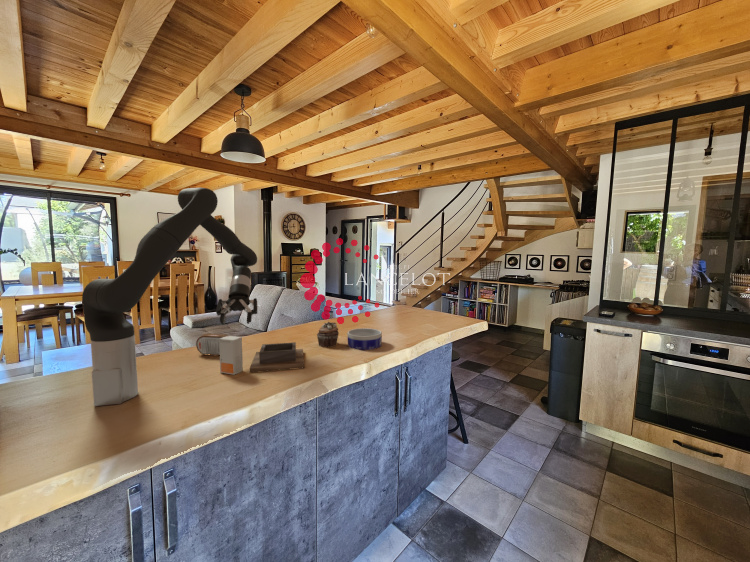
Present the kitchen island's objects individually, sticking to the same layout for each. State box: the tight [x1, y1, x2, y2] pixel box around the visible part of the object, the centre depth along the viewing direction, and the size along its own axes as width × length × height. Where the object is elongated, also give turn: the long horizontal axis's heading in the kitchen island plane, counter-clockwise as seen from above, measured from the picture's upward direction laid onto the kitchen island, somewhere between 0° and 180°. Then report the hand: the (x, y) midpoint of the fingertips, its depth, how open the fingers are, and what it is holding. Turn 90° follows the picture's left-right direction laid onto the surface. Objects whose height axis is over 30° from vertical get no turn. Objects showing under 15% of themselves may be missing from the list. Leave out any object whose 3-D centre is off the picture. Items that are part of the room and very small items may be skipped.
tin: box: [195, 333, 230, 356], centre depth 122 cm, size 15×3×8 cm, turn 84°
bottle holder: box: [249, 341, 305, 373], centre depth 115 cm, size 18×18×6 cm
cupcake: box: [316, 321, 340, 348], centre depth 137 cm, size 10×10×10 cm
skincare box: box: [219, 335, 244, 376], centre depth 104 cm, size 6×4×12 cm
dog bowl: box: [346, 327, 383, 351], centre depth 137 cm, size 15×15×6 cm
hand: (235, 323), depth 113 cm, fingers open, 8 cm apart
